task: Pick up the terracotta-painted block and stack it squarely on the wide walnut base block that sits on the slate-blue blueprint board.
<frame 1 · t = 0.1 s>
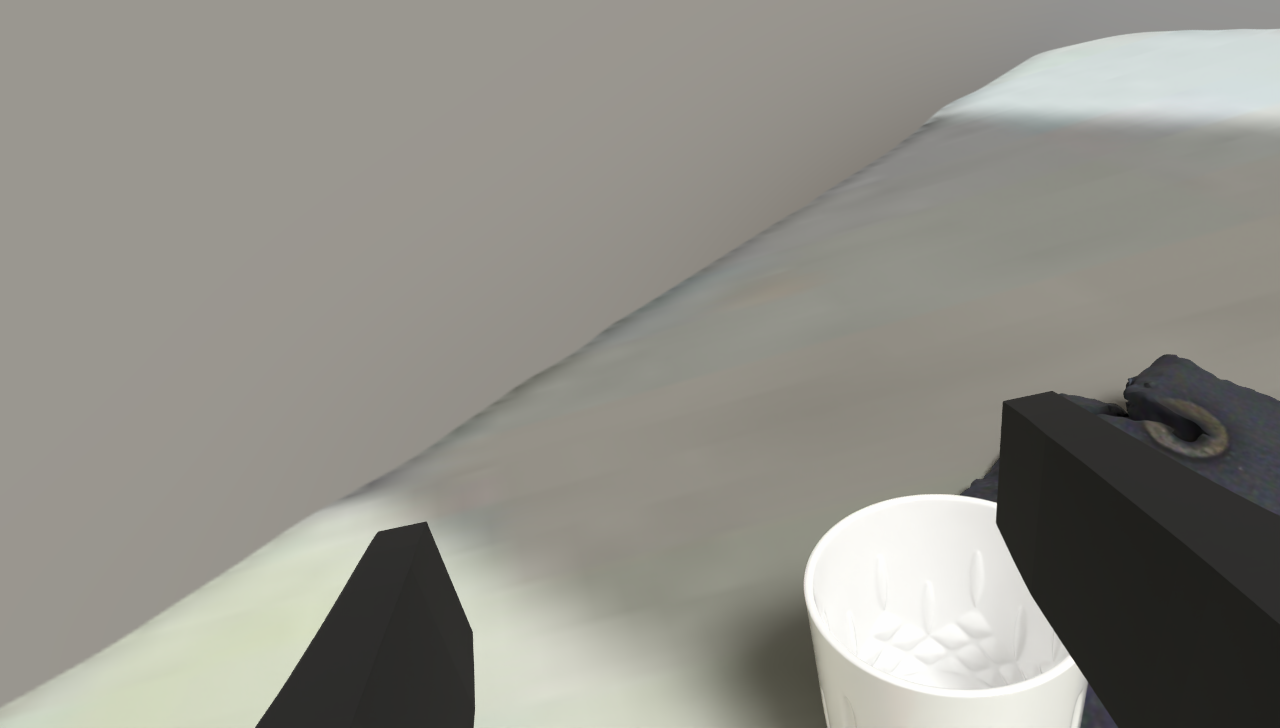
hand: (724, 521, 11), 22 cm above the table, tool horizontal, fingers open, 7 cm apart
dark slate chunk: (1120, 567, 39), on the table
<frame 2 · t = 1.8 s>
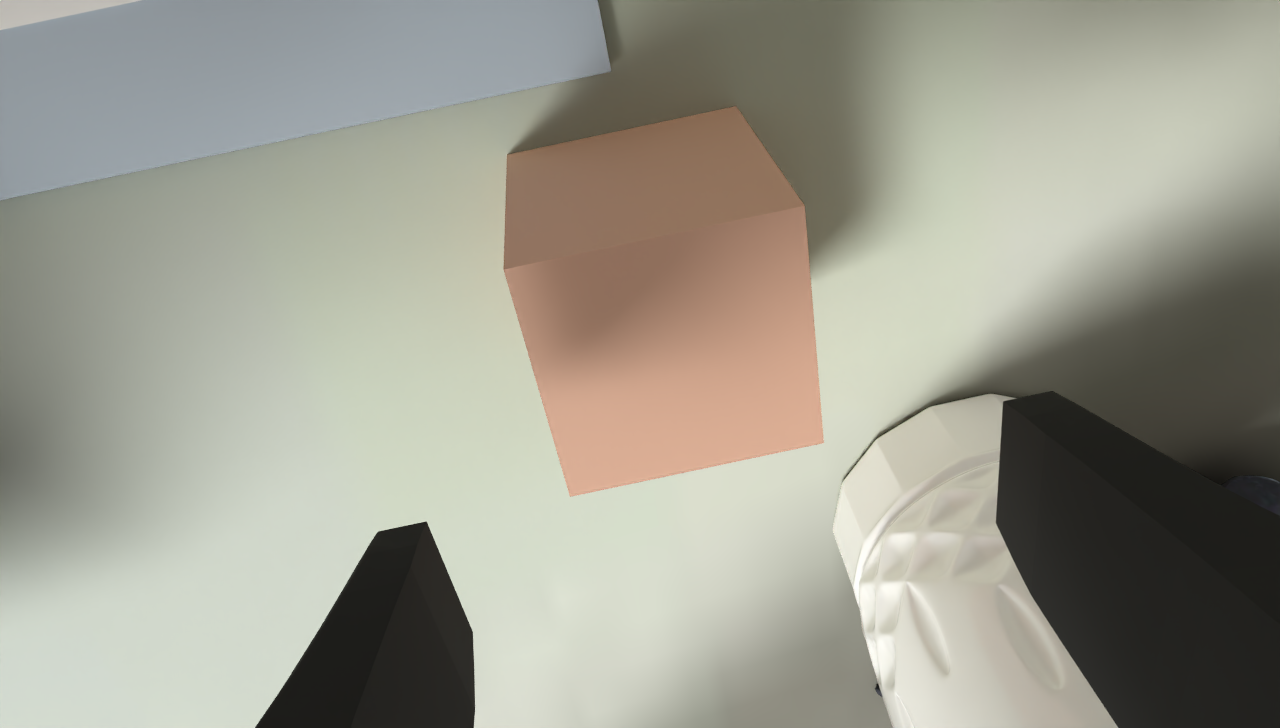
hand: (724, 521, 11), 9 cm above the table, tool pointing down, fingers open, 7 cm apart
dark slate chunk: (1199, 679, 30), on the table
top block: (641, 234, 19), on the table
white cup: (953, 491, 24), on the table
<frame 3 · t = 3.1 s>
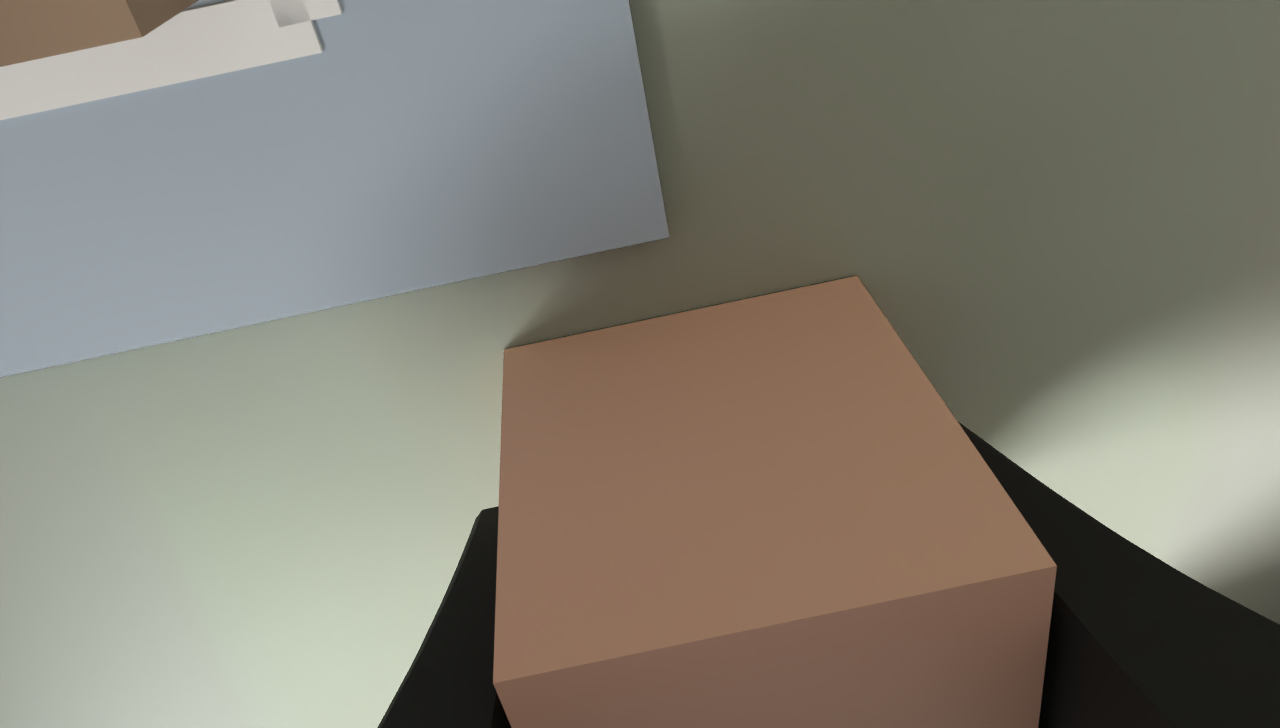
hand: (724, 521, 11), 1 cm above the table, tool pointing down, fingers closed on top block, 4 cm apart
top block: (704, 450, 12), on the table, touching gripper
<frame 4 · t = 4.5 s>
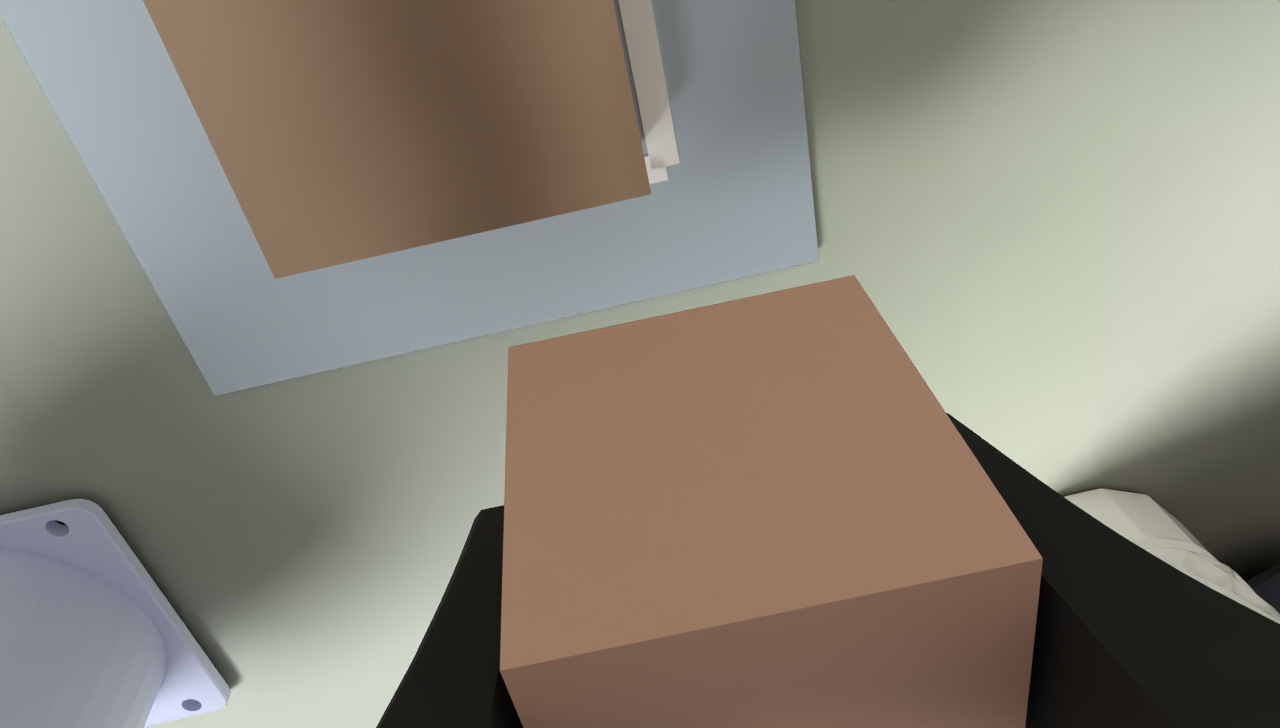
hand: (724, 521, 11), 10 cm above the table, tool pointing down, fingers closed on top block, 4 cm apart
dark slate chunk: (1252, 718, 34), on the table
top block: (704, 446, 13), point 8 cm above the table, touching gripper
blueprint board: (415, 4, 17), on the table
base block: (413, 8, 16), resting on blueprint board
white cup: (1063, 565, 28), on the table
when the fingers open (5 cm above the table, at t = 6.1 s): top block stays where it is, resting on base block.
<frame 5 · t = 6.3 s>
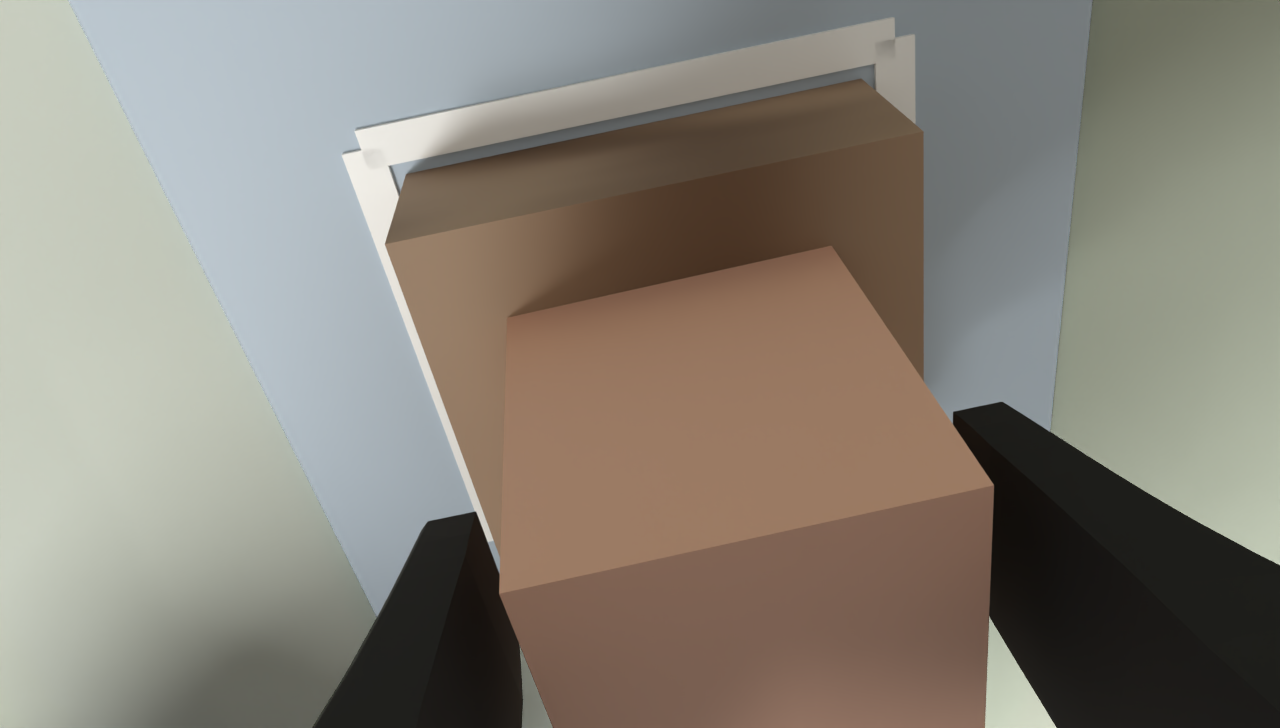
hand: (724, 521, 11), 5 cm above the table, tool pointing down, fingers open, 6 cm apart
top block: (694, 412, 13), point 3 cm above the table, touching base block
blueprint board: (666, 311, 16), on the table
base block: (669, 322, 15), resting on blueprint board, touching top block
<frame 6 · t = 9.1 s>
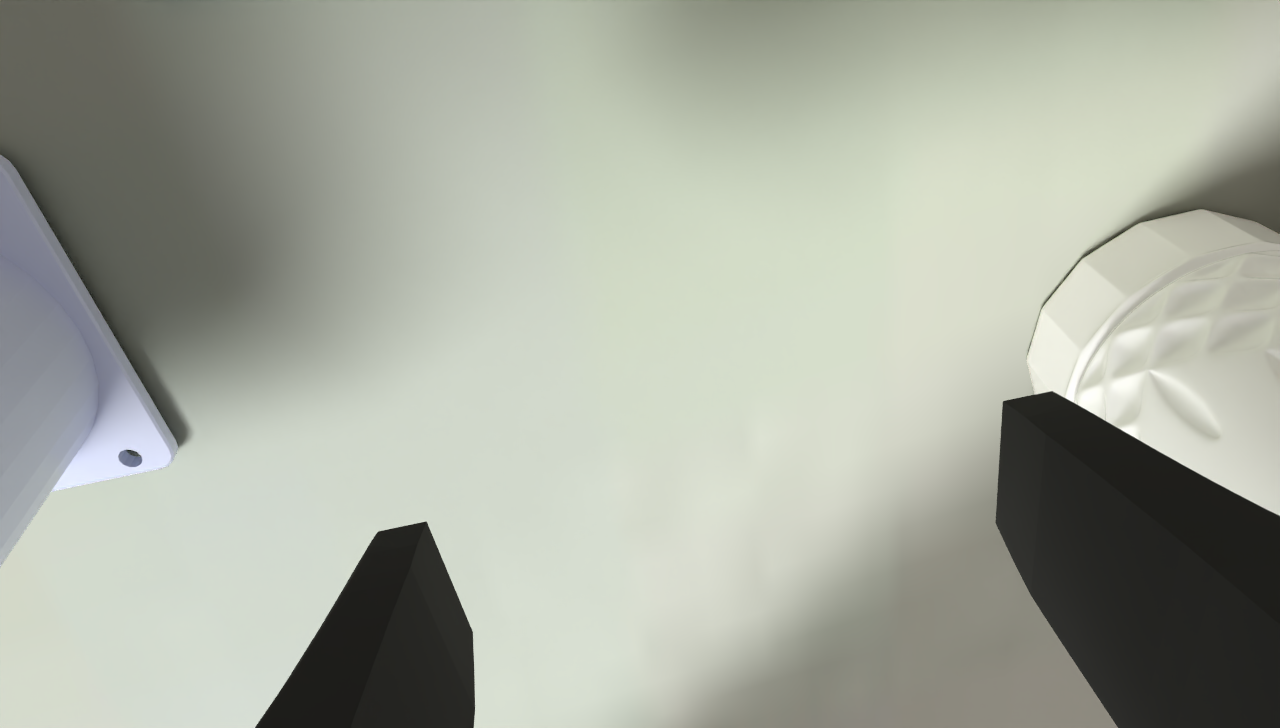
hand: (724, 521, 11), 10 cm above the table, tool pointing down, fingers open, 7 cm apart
white cup: (1146, 323, 24), on the table
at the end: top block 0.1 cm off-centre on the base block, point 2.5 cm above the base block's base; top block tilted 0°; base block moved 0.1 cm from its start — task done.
